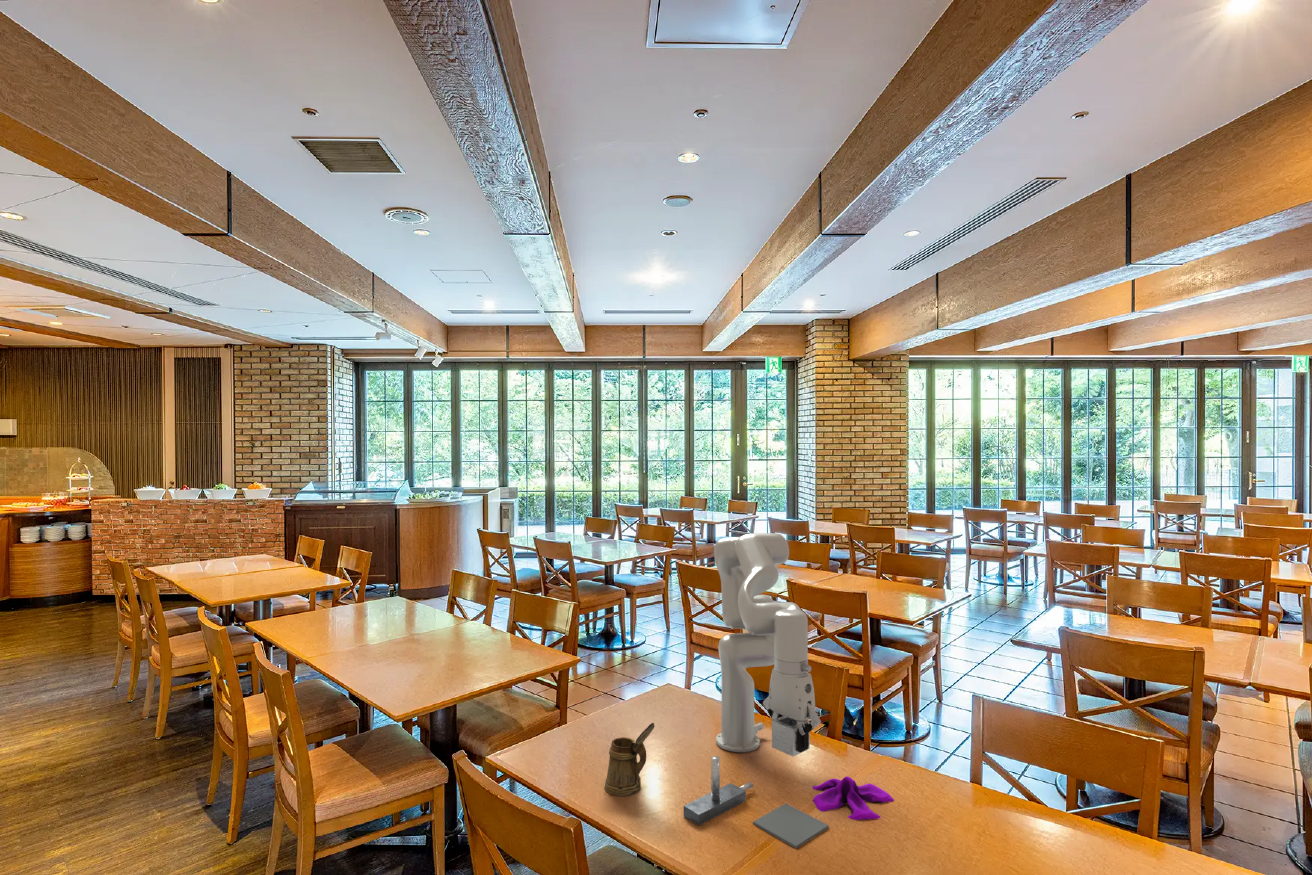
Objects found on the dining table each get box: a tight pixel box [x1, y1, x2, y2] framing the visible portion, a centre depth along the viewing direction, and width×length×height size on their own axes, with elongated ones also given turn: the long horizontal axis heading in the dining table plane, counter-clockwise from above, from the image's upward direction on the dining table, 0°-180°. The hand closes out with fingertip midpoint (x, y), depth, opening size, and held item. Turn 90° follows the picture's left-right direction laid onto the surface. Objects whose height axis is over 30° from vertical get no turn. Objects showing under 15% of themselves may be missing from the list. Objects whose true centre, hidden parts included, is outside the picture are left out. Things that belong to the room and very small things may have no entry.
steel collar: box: [771, 716, 811, 758], centre depth 147 cm, size 6×6×6 cm
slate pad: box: [752, 803, 830, 850], centre depth 147 cm, size 12×12×1 cm
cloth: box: [812, 775, 895, 821], centre depth 159 cm, size 22×19×6 cm
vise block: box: [683, 755, 754, 827], centre depth 156 cm, size 21×5×12 cm, turn 131°
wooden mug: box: [604, 722, 656, 797], centre depth 163 cm, size 9×14×18 cm, turn 59°
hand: (790, 744), depth 147 cm, fingers closed on steel collar, 6 cm apart
